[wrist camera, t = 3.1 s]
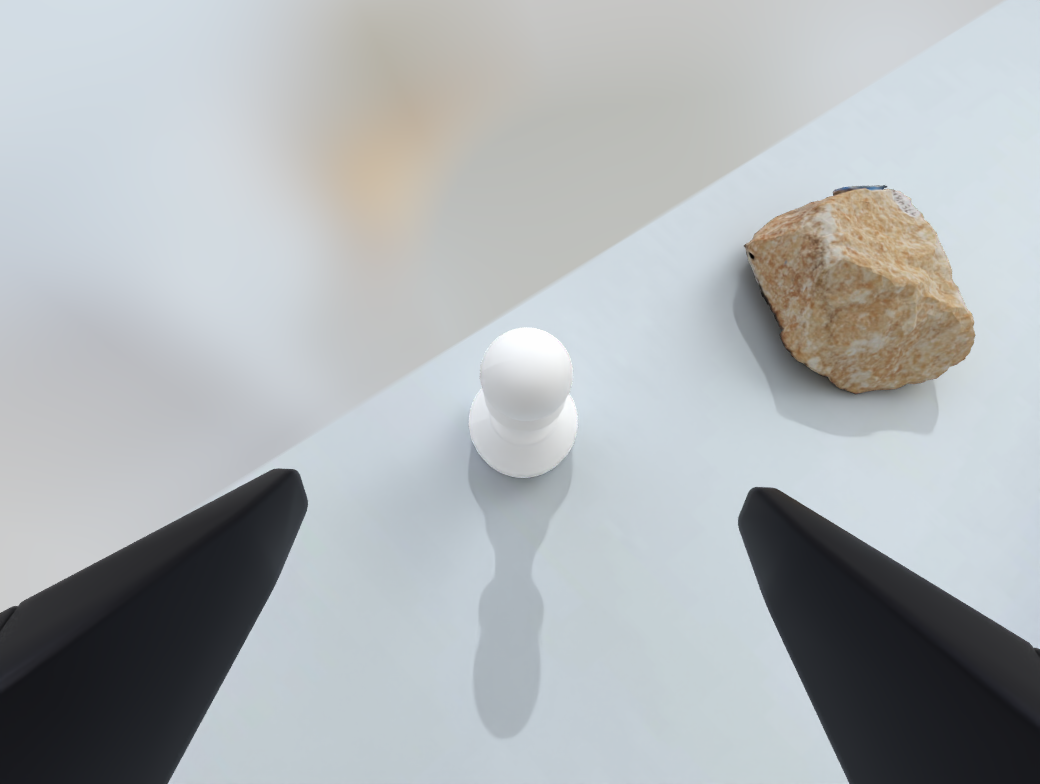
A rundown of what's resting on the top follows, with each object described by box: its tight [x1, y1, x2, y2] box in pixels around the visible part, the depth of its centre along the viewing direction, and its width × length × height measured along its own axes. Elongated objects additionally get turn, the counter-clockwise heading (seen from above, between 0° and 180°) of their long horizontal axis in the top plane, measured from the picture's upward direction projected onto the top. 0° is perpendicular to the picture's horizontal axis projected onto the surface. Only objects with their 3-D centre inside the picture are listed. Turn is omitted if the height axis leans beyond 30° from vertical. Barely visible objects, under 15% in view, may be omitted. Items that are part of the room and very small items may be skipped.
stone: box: [744, 185, 975, 394], centre depth 19 cm, size 8×10×4 cm
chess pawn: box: [469, 328, 578, 478], centre depth 15 cm, size 5×5×9 cm
